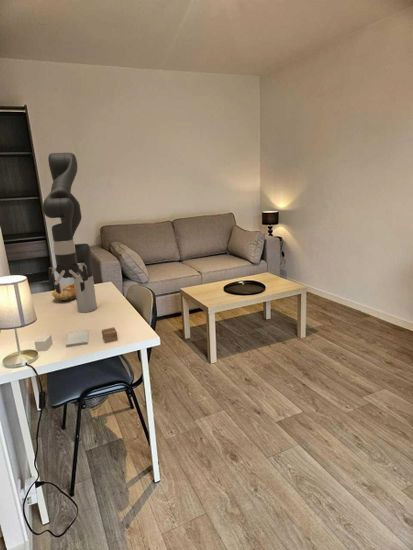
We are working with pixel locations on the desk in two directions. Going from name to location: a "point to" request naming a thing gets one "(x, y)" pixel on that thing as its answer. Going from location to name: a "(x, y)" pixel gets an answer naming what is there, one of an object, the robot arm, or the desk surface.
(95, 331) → the desk surface
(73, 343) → the hard drive
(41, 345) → the grey plastic block
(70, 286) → the tan rounded lump
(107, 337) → the walnut block
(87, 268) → the robot arm
